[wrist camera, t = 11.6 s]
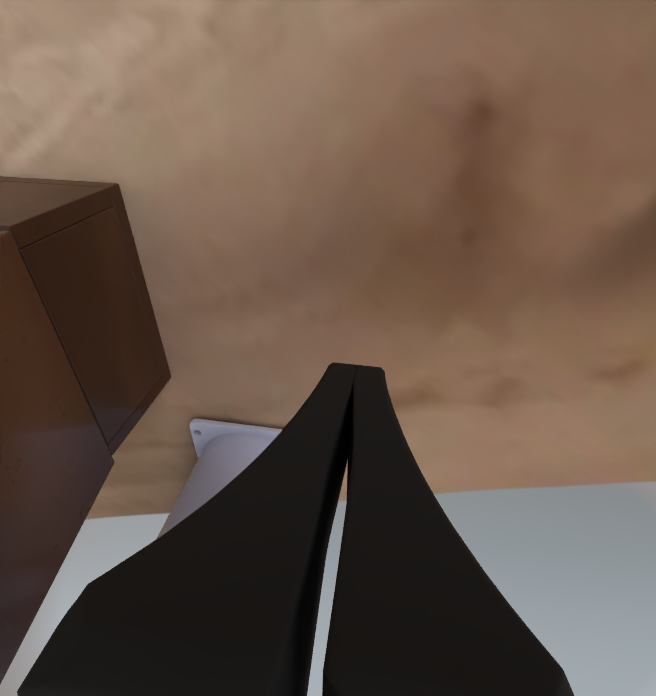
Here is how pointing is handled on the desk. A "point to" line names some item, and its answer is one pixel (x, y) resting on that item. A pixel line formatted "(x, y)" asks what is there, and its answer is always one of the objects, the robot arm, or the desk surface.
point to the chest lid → (38, 453)
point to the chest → (90, 292)
